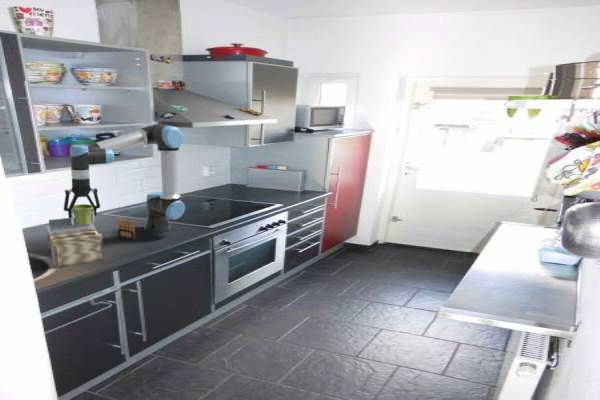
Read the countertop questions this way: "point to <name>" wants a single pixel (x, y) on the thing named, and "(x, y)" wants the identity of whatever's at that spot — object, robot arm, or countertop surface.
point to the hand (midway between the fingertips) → (83, 223)
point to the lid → (67, 226)
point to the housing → (75, 248)
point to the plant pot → (82, 213)
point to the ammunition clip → (126, 229)
